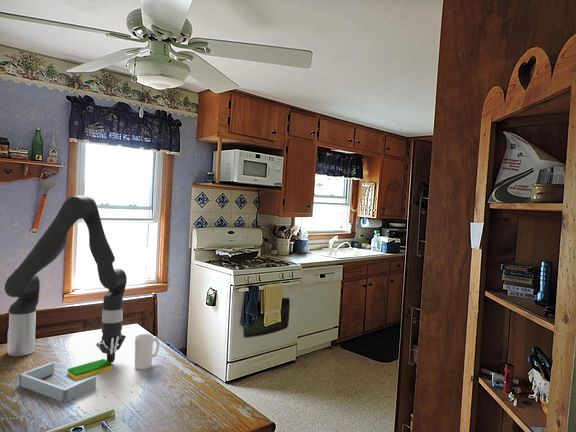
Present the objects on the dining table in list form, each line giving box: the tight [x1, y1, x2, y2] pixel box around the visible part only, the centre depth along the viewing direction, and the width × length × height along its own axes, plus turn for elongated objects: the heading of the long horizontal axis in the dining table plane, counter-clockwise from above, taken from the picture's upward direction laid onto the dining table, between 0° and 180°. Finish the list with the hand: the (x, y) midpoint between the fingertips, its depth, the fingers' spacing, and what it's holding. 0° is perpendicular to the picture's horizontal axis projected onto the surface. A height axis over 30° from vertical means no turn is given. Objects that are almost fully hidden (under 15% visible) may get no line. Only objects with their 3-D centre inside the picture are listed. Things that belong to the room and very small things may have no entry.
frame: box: [18, 361, 97, 403], centre depth 139 cm, size 23×12×4 cm, turn 66°
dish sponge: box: [67, 358, 113, 381], centre depth 152 cm, size 7×14×2 cm, turn 141°
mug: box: [134, 333, 160, 371], centre depth 160 cm, size 10×7×12 cm, turn 137°
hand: (110, 362), depth 159 cm, fingers closed
